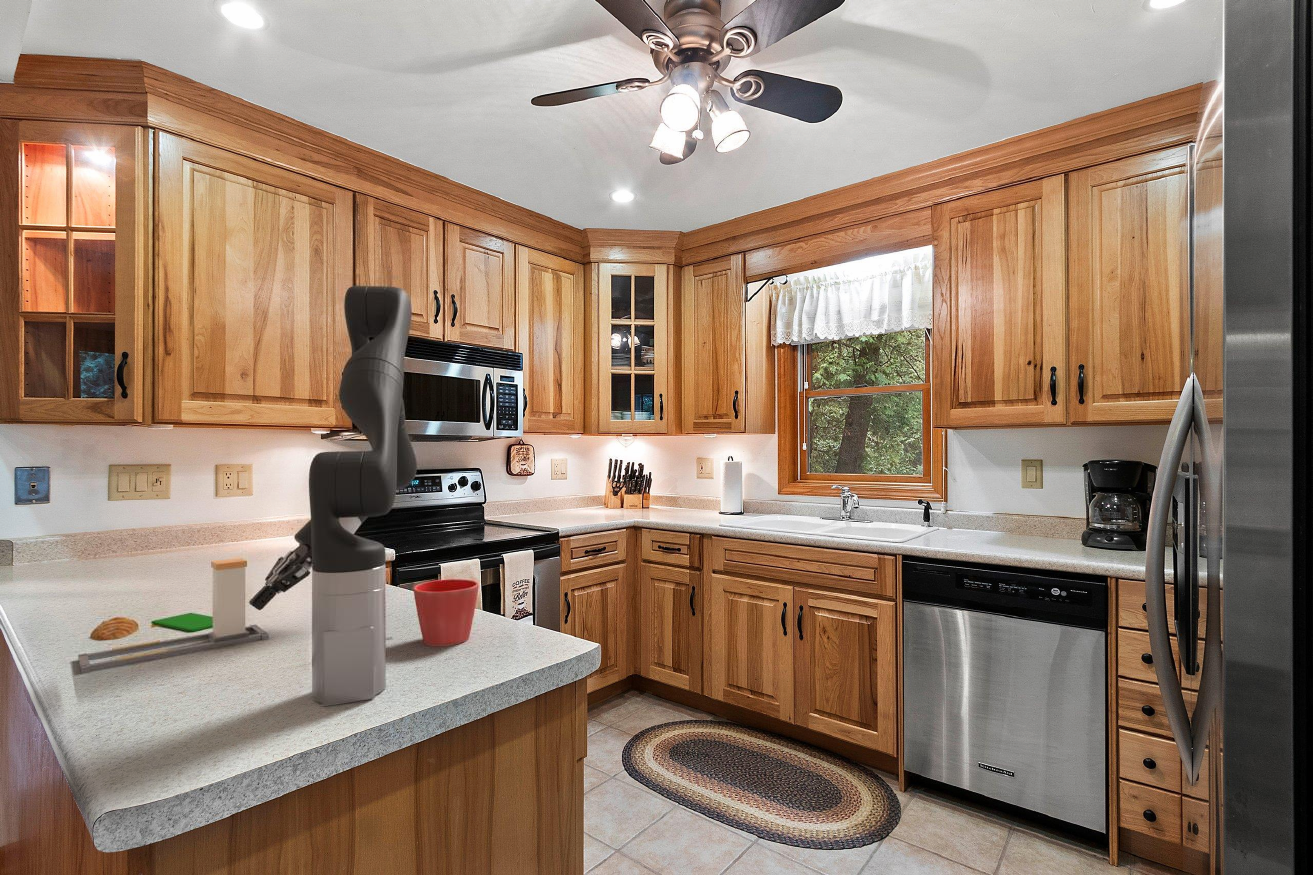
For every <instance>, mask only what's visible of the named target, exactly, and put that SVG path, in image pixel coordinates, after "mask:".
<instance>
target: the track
mask: <svg viewBox="0 0 1313 875" xmlns="http://www.w3.org/2000/svg"><path fill="white" fill-rule="evenodd" d="M245 629H246V630H247V631H248V632H249V633H253V634H251V635H250V634H249V636H244V637H238V638H233V639H227V640H222V641H216V642H210V641H209V640H208V633H209V632H208V633H202V634H196V635H195V634H194V635H191V636H189V635H188V636H183V637H178V638H172V639H167V640H154V641H147V642H142V643H134V644H129V645H125V646H124V645H123V646H118V647H113V648H111V649H108V650H102V651H97V652H90V653H81V654H80V653H79V654H78V655H77V660H78V665H79V669H80V674H81V675H83V674H84V675H85V674H90V673H91V672H96V671H100V670H106V669H111V668H116V667H123V666H126V665H133V664H140V663H144V662H149V661H156V660H159V659H165V658H170V657H175V656H181V655H186V654H192V653H193V654H194V653H196V652H203V651H209V650H214V649H219V648H225V647H229V646H235V645H236V646H237V645H241V644H245V643H250V642H251V643H252V642H257V641H264V640H265V641H266V640H269V639H270V634H269V633H268V632H267V631H265V630H264V629H263V628H262V627H261V626H259V625H257V624H249V626H245ZM206 640H208V641H209V642H206V643H201V644H200V643H199V644H195V645H190V646H189V645H188V646H184V647H177V648H174V649H166V648H167V647H172V646H178V645H179V646H180V645H185V644H189V643H190V644H191V643H196V642H202V641H206ZM161 648H165V649H161ZM157 649H160V650H157ZM151 650H154V651H151ZM144 651H149V652H144ZM140 652H142V653H140ZM134 653H136V654H134ZM129 654H130V655H129ZM131 654H132V655H131ZM122 655H123V656H122ZM125 655H126V656H125ZM116 656H120V657H116ZM110 657H116V658H115V659H111V660H106V661H100V662H95V663H90V661H94V660H99V659H100V660H101V659H105V658H110Z"/></svg>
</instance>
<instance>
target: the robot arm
mask: <svg viewBox="0 0 1313 875" xmlns="http://www.w3.org/2000/svg"><path fill="white" fill-rule="evenodd" d="M411 302H412V301H411V299H410V296H409V294H408V293H407V291H406V290H404V289H403V288H400V287H396V286H386V285H385V286H384V285H381V286H380V285H352V286H350V287H348V288H347V289H346V293H345V296H344V302H343V307H344V308H343V309H344V310H343V311H344V318H345V324H346V328H347V333H348V337H349V342H350V345H351V350H352V354H351V356H350V357H349V358H348V360H347V361H346V363H345V365H344V367H343V371H342V374H341V380H340V385H339V392H338V399H339V403H340V406H341V407H342V409H343V411H344V413H345V414H346V416H347V417H348V418H349V420H350V421H352V424H354V425H355V426H356V427H357V428H358V430H359V431H360V432H361V433H362V434H363V435H364V437H365V438H366V440H367V442H368V443H369V445H370V447H371V449H372V450H366V451H365V450H359V451H358V450H355V451H354V450H353V451H351V450H347V451H346V450H345V451H343V450H342V451H322V452H318V453H317V454H316V455H315V456H314V457H313V458H312V461H311V462H310V465H309V472H308V473H309V474H308V494H309V495H308V496H309V497H308V498H309V510H310V511H309V512H310V519H309V520H308V521H307V522H306V523H305V524H304V525H303V526H302V528H300V529H299V530H298V531H297V532H296V533H295V534H294V536H293V538H294V540H295V541H296V542H297V543H298V544H299V545H298V546H297V547H296V548H294V549H293V550H290V551H288V552H287V554H285V556H284V557H283V556H280V557H279V558H278V559H277V561H276V562H275V564H274V565H273V566H272V568H271V569H270V570H269V573H268V574H267V576H265V579H264V580H265V582H264V586H263V587H261V589H259V591H258V592H257V593H256V594H255V595H254V596H253V597H251V598H250V600H249V601H248V604H249V605H251V606H252V607H253V608H255V609H256V610H258V611H261V610H262V609H264V608H265V607H266V606H267V605H268V604H269V603H270V601H272V600H273V599H274V598H275V596H276V595H279V594H280V593H282V592H283V593H286V592H287V591H289V590H290V589H292V588H293V587H295V586H296V585H297V584H299V583H300V582H301V581H303V580H304V579H306V578H307V577H309V576H310V574H311V698H312V700H314V701H315V702H317V703H321V704H322V706H323V707H326V706H327V707H328V706H333V705H340V704H345V703H346V704H347V703H352V702H360V701H365V700H372V699H375V696H376V695H378V694H380V693H381V692H382V691H384V690H385V689H386V687H387V686H386V684H387V683H386V680H387V678H386V677H387V672H386V671H387V668H386V667H387V666H386V665H387V664H386V663H387V660H386V659H387V657H386V654H387V652H386V651H387V650H386V648H387V647H386V645H387V644H386V643H387V642H386V640H387V639H386V633H387V632H386V628H387V627H386V626H387V625H386V621H387V620H386V618H387V617H386V614H387V613H386V611H387V610H386V609H387V608H386V605H387V604H386V584H387V583H386V581H387V580H386V575H387V574H386V567H387V566H386V560H387V559H386V557H387V556H386V554H387V553H386V549H385V545H384V544H382V543H381V542H378V541H375V540H371V539H368V538H366V537H365V538H364V537H362V536H359V535H356V534H355V533H356V531H357V530H358V529H359V527H360V526H361V525H362V524H363V523H364V522H365V521H366V520H367V519H368V517H369V518H371V517H372V518H373V517H380V516H384V515H387V514H388V513H389V512H390V511H391V510H392V508H393V507H394V503H395V500H396V495H397V489H404V488H407V487H408V486H410V485H411V484H412V483H413V481H414V479H415V477H416V475H417V470H418V464H417V463H418V462H417V461H418V460H417V458H416V454H415V450H414V448H413V445H412V442H411V439H410V437H409V434H408V432H407V426H406V424H407V423H406V414H405V413H406V412H405V404H404V399H403V391H404V380H405V379H404V378H405V374H404V373H405V356H406V349H407V345H408V338H409V334H410V329H411V323H412V313H413V312H412V303H411ZM369 338H373V339H371V340H370V339H369ZM310 570H311V571H310Z"/></svg>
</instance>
